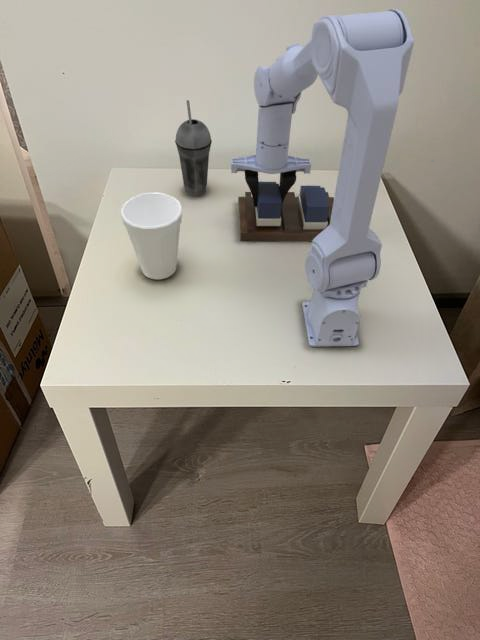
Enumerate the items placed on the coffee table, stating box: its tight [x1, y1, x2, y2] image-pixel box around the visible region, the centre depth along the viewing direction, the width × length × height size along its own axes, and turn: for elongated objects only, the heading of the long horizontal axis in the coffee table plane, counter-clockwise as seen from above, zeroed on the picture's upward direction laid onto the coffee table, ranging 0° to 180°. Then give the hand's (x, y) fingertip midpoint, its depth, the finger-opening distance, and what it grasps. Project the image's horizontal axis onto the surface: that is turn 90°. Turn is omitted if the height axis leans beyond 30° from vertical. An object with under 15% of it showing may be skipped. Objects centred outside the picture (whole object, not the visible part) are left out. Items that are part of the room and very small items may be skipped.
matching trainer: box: [297, 185, 330, 229], centre depth 96 cm, size 10×5×5 cm, turn 2°
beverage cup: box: [174, 99, 213, 198], centre depth 98 cm, size 7×7×20 cm
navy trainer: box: [255, 181, 282, 226], centre depth 94 cm, size 10×5×5 cm, turn 2°
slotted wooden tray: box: [237, 191, 334, 242], centre depth 97 cm, size 12×20×3 cm, turn 92°
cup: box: [120, 191, 183, 280], centre depth 83 cm, size 10×10×13 cm
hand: (267, 203), depth 95 cm, fingers closed on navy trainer, 4 cm apart
